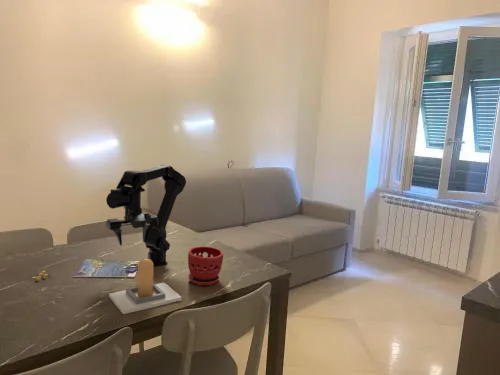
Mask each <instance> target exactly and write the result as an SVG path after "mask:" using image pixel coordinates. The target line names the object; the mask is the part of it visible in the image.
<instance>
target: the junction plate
mask: <svg viewBox="0 0 500 375" xmlns="http://www.w3.org/2000/svg"><path fill="white" fill-rule="evenodd" d="M108 295H109V299H110V300H111V301H112V302H113V303H114V305H115V306H116V308H117V309H118V310H119V311H120V312H121V313H122V315H125V314H129V313H134V312H138V311H143V310H147V309H151V308H156V307H159V306H163V305H164V306H165V305H169V304H172V302H173V303H176V301H177V302H180V301H182V296H181V295H180V294H178V293H177V292H176V291H175V290H174V289H172V288H171V287H170V286H169V285H168V284H167V283H166V282H160V283H154V282H153V295H151V296H147V297H142V298H139V297H138V285H137V286H133V287H128V288H125V290H122V291H121V290H120V291H116V292H112V293H111V292H110V293H109V294H108Z"/></svg>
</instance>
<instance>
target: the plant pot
mask: <svg viewBox="0 0 500 375" xmlns="http://www.w3.org/2000/svg"><path fill="white" fill-rule="evenodd" d="M204 253H206V254H207V256H206V257H205V256H203V254H204ZM187 255H188V256H187V265H188V270H189V274H188V280H189V281H190V282H191V283H192V284H195V285H197V286H211V285H215V284H216V283H217V282H218V281H219V279H220V276H219V274H220V272H221V270H222V266H223V260H224V252H223V251H222V250H221V249H220V248H216V247H212V246H195V247H192V248H190V249H189V250H188V254H187Z"/></svg>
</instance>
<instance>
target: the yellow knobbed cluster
mask: <svg viewBox="0 0 500 375" xmlns="http://www.w3.org/2000/svg"><path fill="white" fill-rule="evenodd" d="M48 278H49V276H48V273H46V271H45V270H43V271H42V270H41V272H40V273H38V276H32V278H31V279H32V280H34V279H35V280H36V282H41V281H42V279H44V280H45V279H48Z"/></svg>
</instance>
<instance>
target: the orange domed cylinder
mask: <svg viewBox="0 0 500 375" xmlns="http://www.w3.org/2000/svg"><path fill="white" fill-rule="evenodd" d="M153 283H154V266H153V262H152V261H151V260H150V259H148V257H146V258H142V259H141V260H139V261H138V264H137V286H138V297H139V298H142V297H147V296H151V295H153Z"/></svg>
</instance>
